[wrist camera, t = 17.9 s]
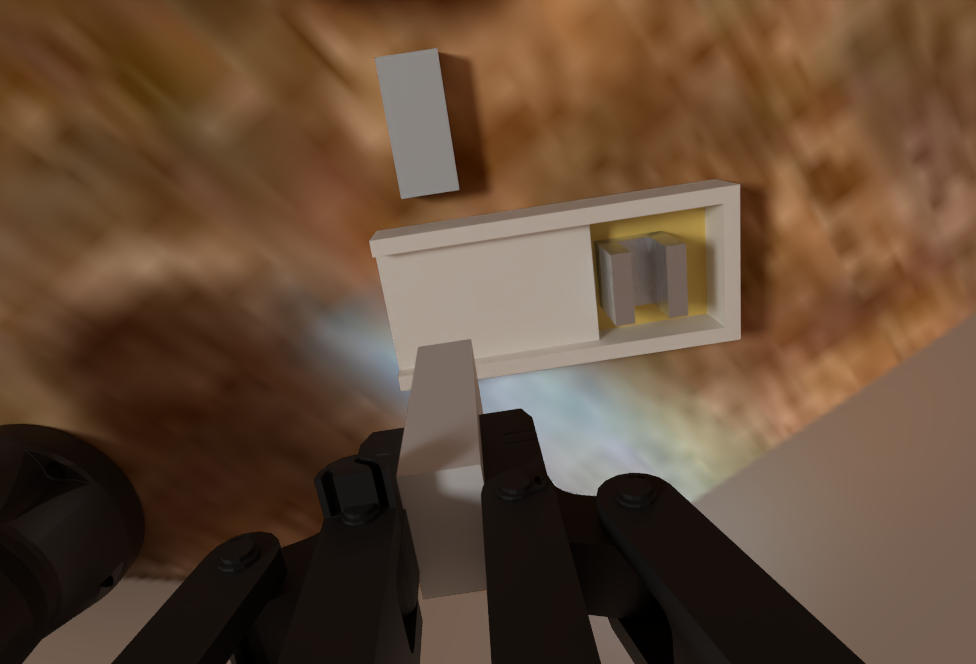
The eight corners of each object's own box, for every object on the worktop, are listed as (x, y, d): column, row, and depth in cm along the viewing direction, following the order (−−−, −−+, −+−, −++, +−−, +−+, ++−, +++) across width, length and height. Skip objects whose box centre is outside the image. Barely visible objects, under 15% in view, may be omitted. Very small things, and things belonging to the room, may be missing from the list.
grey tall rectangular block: (404, 195, 39) (401, 198, 37) (378, 61, 36) (374, 57, 34) (459, 186, 39) (459, 189, 37) (438, 52, 36) (437, 48, 34)
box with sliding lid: (405, 369, 43) (400, 391, 39) (376, 231, 40) (369, 240, 36) (718, 322, 43) (740, 339, 39) (715, 179, 40) (739, 184, 36)
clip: (599, 305, 41) (616, 326, 37) (594, 241, 40) (610, 255, 36) (664, 295, 41) (688, 315, 37) (661, 230, 40) (685, 243, 36)
